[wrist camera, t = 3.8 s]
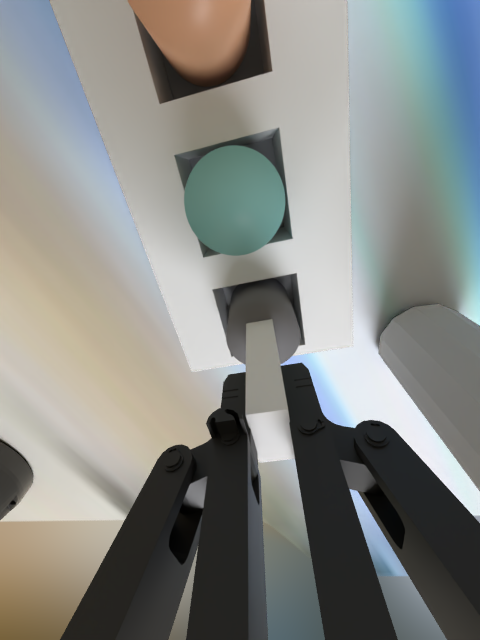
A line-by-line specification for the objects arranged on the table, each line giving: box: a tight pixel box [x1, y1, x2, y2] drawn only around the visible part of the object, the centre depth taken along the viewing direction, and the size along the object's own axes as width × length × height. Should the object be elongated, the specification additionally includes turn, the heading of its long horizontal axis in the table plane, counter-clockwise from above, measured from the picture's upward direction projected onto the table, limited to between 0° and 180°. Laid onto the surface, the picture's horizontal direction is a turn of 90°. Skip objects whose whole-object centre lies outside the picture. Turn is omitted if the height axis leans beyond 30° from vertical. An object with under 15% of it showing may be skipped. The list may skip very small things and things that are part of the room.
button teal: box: [184, 145, 285, 256], centre depth 14 cm, size 4×4×5 cm
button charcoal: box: [226, 278, 301, 365], centre depth 18 cm, size 4×4×5 cm
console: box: [49, 0, 353, 372], centre depth 17 cm, size 12×22×5 cm, turn 12°
